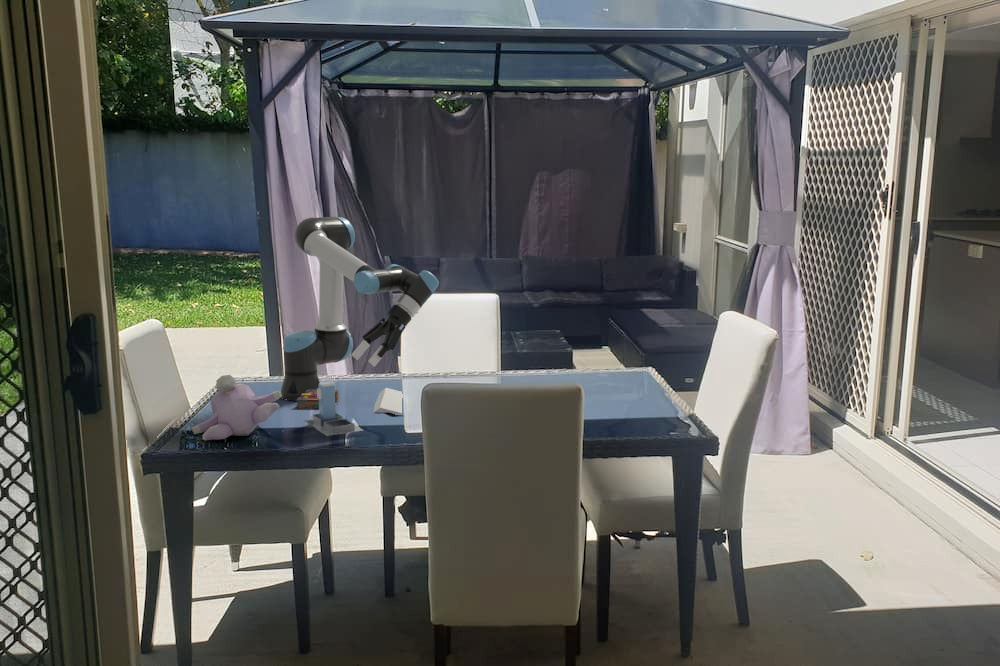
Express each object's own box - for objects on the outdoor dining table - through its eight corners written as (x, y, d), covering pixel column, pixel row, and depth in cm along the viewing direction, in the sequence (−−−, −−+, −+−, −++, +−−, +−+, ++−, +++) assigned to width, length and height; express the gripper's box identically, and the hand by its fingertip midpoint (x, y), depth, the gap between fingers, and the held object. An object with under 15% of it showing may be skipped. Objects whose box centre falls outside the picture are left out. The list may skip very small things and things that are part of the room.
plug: (317, 421, 279) (315, 383, 277) (331, 419, 282) (330, 381, 280) (321, 424, 276) (320, 385, 274) (335, 422, 278) (334, 383, 276)
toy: (197, 434, 284) (204, 465, 257) (175, 387, 278) (180, 414, 251) (281, 398, 292) (296, 424, 265) (261, 352, 287) (275, 374, 260)
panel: (304, 424, 280) (304, 414, 280) (339, 419, 286) (339, 409, 286) (326, 439, 263) (326, 429, 263) (363, 433, 270) (363, 423, 269)
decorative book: (339, 402, 311) (339, 388, 310) (328, 413, 295) (328, 399, 294) (307, 401, 311) (307, 388, 310) (295, 413, 295) (295, 398, 294)
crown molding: (404, 417, 292) (404, 407, 291) (368, 418, 291) (367, 407, 290) (408, 397, 320) (408, 387, 320) (374, 397, 319) (374, 388, 319)
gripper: (428, 322, 278) (386, 374, 273) (394, 314, 299) (355, 361, 294) (413, 307, 275) (370, 359, 269) (380, 300, 296) (340, 347, 290)
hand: (362, 360), depth 281 cm, fingers open, 13 cm apart
